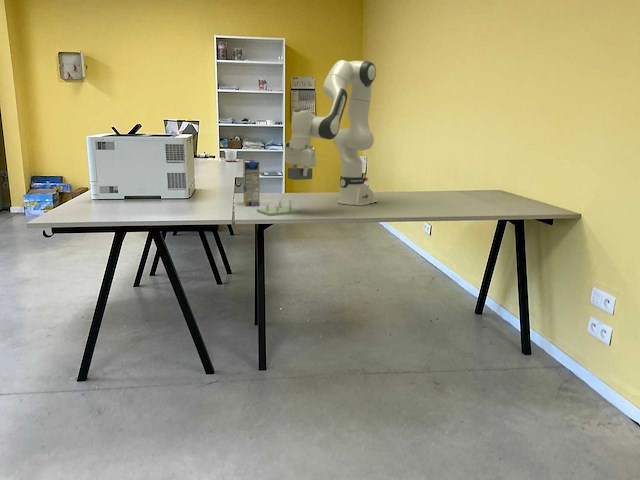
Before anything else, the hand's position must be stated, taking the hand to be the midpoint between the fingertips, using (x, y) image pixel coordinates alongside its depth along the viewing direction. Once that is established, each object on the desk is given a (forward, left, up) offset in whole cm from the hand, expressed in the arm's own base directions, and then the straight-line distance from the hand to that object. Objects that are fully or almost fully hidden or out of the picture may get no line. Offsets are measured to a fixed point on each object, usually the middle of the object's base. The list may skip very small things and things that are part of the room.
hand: (299, 175), depth 223 cm
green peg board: (+7, -7, -18) cm, 20 cm away
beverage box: (+8, -32, -18) cm, 37 cm away
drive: (0, 0, -2) cm, 2 cm away
